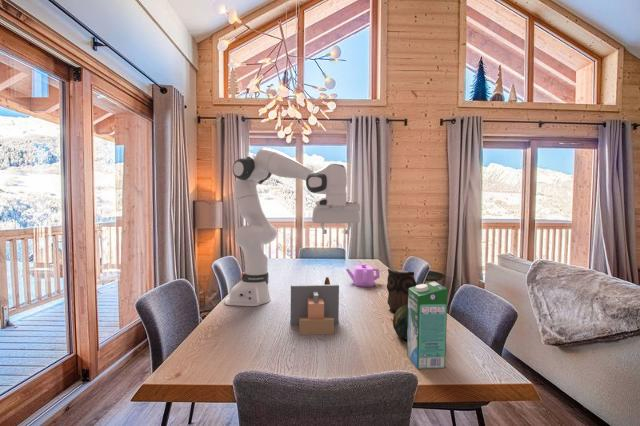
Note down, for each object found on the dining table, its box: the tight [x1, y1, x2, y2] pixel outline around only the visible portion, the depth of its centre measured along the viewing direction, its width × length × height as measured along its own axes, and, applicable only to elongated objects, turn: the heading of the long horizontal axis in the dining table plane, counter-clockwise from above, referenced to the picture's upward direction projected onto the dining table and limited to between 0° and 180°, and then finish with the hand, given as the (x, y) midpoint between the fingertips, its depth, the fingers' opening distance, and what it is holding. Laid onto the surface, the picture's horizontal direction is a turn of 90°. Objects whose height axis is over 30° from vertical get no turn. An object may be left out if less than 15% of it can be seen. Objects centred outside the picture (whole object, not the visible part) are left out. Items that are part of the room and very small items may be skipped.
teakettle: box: [345, 263, 381, 288], centre depth 198 cm, size 17×17×12 cm
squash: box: [392, 305, 408, 340], centre depth 119 cm, size 14×15×15 cm
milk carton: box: [406, 280, 449, 370], centre depth 102 cm, size 9×9×25 cm
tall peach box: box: [308, 292, 324, 319], centre depth 128 cm, size 6×7×11 cm
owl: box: [386, 268, 418, 315], centre depth 147 cm, size 13×13×20 cm
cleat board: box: [289, 284, 340, 336], centre depth 130 cm, size 20×16×16 cm
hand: (335, 233), depth 136 cm, fingers open, 8 cm apart
